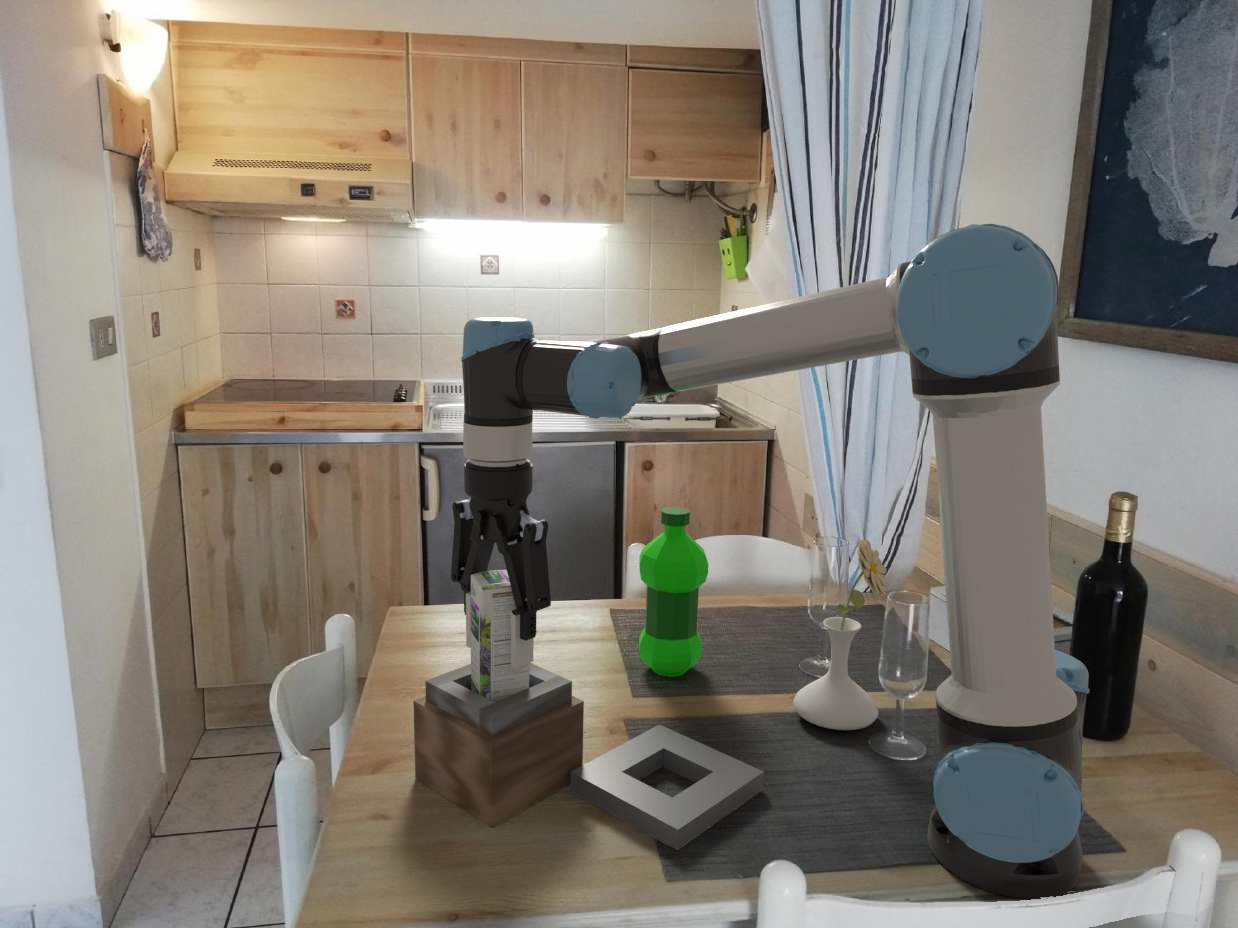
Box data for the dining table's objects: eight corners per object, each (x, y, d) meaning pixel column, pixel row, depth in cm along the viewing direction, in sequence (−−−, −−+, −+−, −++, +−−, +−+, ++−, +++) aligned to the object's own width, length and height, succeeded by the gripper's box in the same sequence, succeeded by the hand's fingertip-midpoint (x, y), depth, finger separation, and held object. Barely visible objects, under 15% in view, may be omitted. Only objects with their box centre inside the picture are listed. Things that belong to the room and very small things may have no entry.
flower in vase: (842, 747, 120) (858, 563, 115) (775, 714, 129) (786, 540, 123) (901, 718, 128) (918, 544, 123) (834, 688, 137) (847, 524, 132)
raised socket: (582, 777, 112) (584, 681, 109) (491, 827, 102) (491, 722, 99) (505, 736, 121) (505, 646, 118) (415, 778, 111) (413, 680, 108)
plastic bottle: (695, 688, 136) (703, 523, 130) (626, 677, 139) (631, 515, 134) (710, 661, 145) (717, 506, 140) (645, 651, 148) (650, 499, 143)
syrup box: (469, 689, 110) (467, 572, 107) (517, 681, 113) (516, 566, 110) (482, 710, 105) (480, 589, 102) (532, 701, 108) (531, 582, 104)
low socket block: (762, 790, 110) (763, 771, 109) (677, 850, 98) (678, 829, 98) (658, 742, 120) (659, 724, 120) (570, 791, 109) (570, 771, 108)
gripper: (587, 469, 99) (584, 670, 104) (467, 441, 112) (469, 621, 117) (535, 480, 94) (534, 691, 98) (415, 450, 107) (420, 637, 112)
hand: (499, 652), depth 108 cm, fingers closed on syrup box, 7 cm apart
